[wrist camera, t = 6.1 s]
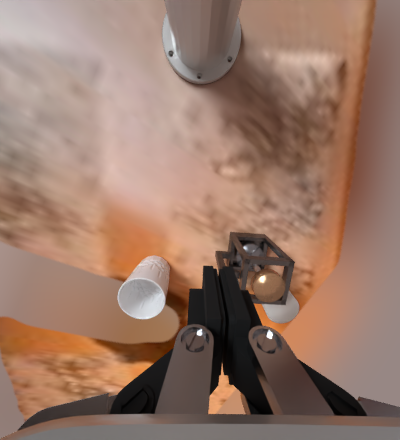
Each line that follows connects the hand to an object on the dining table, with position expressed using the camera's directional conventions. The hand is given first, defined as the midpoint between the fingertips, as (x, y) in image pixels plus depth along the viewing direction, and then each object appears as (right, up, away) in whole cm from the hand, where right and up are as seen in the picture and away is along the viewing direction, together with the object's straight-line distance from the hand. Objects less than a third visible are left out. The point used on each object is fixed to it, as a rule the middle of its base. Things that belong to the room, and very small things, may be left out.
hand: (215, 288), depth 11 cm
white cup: (-11, -7, +30) cm, 33 cm away
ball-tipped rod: (+9, -3, +26) cm, 28 cm away
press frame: (+7, -2, +29) cm, 30 cm away
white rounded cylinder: (+14, -10, +31) cm, 36 cm away
